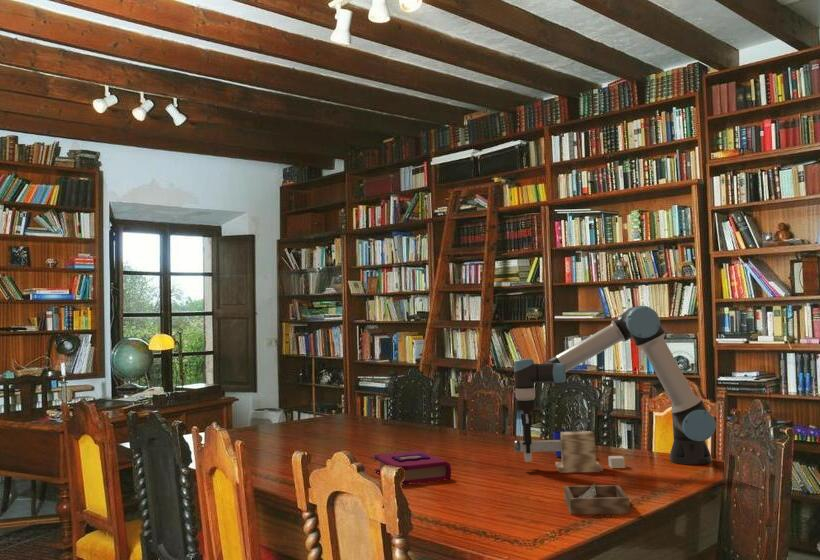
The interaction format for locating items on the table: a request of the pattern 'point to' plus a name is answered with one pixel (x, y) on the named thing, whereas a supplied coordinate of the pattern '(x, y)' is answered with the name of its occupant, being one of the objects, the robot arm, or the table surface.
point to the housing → (578, 453)
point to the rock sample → (590, 493)
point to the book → (416, 466)
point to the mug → (557, 437)
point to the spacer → (616, 461)
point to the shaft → (540, 445)
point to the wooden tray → (597, 500)
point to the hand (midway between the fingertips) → (528, 460)
